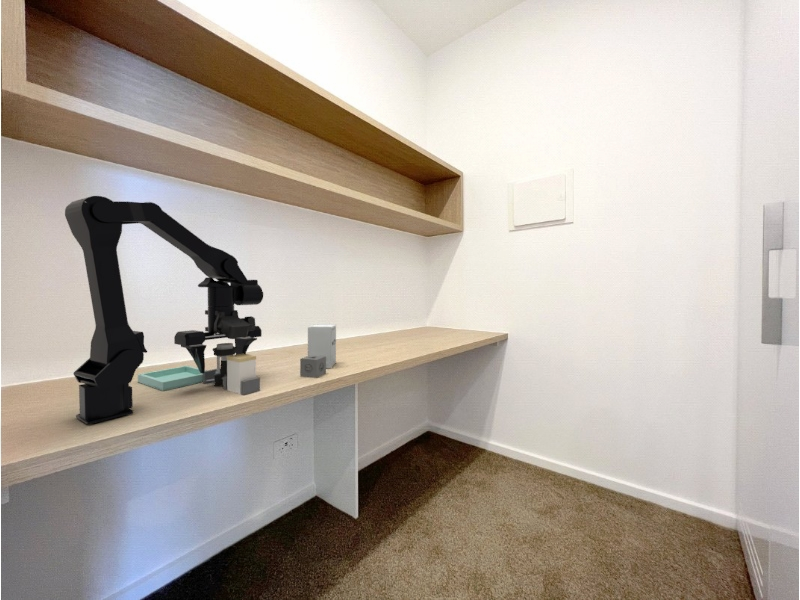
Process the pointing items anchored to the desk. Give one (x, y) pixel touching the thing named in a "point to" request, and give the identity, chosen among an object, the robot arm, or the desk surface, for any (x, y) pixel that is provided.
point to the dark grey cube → (312, 366)
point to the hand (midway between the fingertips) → (221, 369)
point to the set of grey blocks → (246, 385)
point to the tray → (171, 378)
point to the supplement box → (323, 342)
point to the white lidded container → (239, 370)
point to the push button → (222, 361)
